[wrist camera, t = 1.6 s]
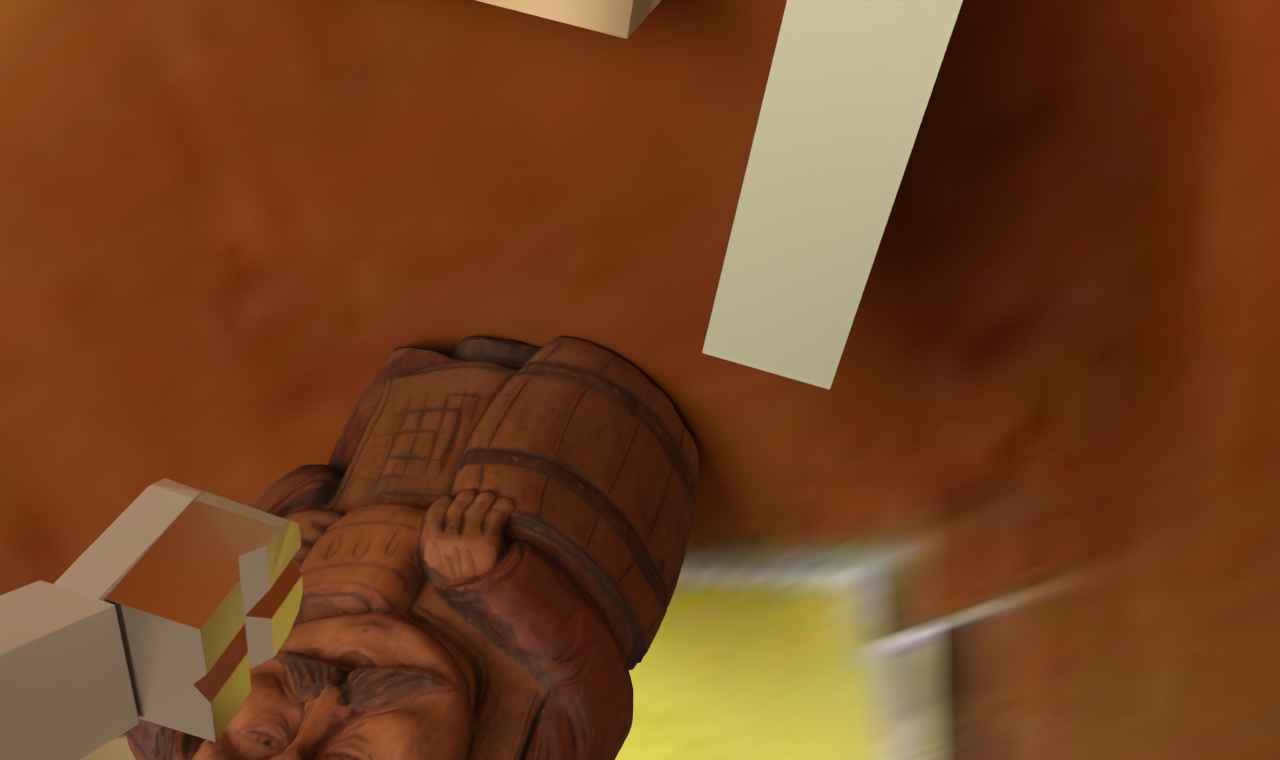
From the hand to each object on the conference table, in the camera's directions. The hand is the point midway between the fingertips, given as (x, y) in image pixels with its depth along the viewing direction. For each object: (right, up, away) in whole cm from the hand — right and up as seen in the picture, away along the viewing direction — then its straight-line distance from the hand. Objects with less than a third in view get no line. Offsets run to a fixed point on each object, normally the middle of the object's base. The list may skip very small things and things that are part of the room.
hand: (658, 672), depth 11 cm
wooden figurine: (-4, +2, +25) cm, 25 cm away
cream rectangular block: (+5, +11, +15) cm, 20 cm away
